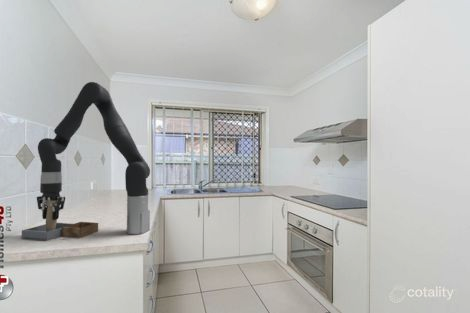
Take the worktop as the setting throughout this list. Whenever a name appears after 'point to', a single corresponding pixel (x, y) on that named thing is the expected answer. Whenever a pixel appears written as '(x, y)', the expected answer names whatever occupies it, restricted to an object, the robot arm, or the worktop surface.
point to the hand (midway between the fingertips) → (50, 218)
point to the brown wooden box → (79, 229)
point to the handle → (50, 217)
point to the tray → (43, 232)
